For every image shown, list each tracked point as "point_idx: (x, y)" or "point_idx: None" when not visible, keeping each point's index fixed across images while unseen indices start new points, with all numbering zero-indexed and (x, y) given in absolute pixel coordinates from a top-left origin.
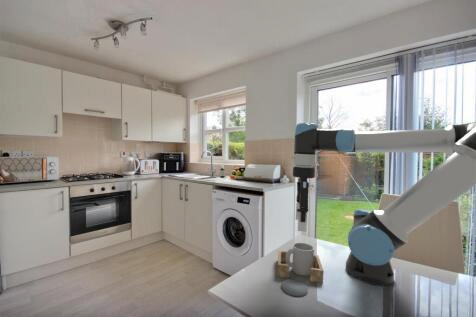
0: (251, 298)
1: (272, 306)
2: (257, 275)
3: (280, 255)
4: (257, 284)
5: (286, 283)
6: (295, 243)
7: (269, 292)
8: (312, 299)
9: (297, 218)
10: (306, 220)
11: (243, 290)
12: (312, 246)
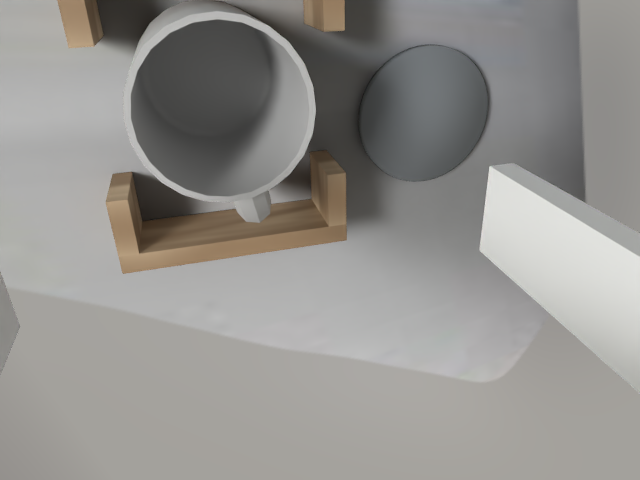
0: None
1: None
2: (351, 295)
3: (211, 246)
4: (424, 275)
5: (407, 158)
6: (181, 189)
7: (472, 218)
8: (493, 21)
9: (9, 316)
10: (606, 220)
11: (475, 309)
12: (182, 25)
